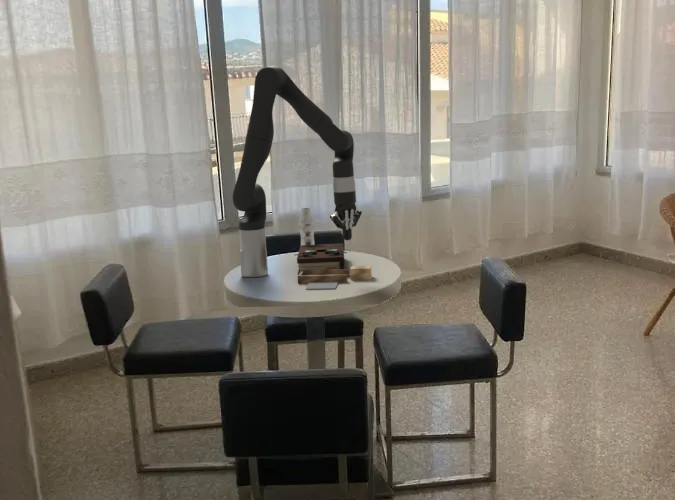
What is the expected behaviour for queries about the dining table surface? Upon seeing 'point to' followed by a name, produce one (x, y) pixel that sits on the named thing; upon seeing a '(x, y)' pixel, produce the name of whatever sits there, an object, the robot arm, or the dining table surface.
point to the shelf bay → (323, 275)
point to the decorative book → (321, 257)
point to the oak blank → (360, 272)
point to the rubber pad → (321, 285)
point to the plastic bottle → (306, 227)
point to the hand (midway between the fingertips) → (347, 239)
